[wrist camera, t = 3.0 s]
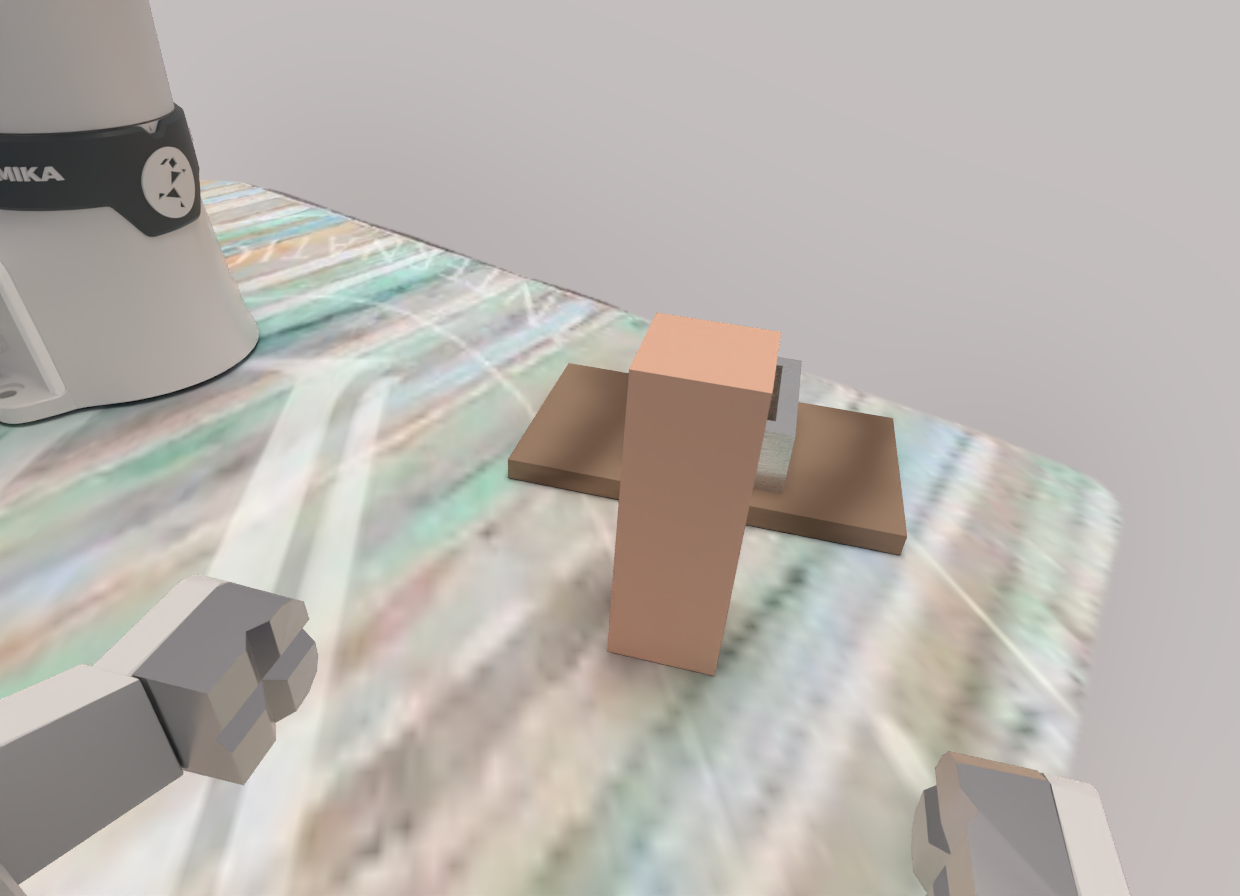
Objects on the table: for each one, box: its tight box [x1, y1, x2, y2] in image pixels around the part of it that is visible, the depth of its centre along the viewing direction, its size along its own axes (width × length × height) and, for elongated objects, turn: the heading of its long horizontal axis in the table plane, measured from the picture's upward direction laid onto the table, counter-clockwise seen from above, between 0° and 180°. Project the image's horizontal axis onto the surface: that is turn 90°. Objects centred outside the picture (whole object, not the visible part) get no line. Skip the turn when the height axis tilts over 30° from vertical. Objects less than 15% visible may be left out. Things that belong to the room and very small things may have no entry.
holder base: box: [508, 363, 907, 555], centre depth 42 cm, size 20×11×1 cm, turn 77°
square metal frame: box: [753, 357, 802, 494], centre depth 41 cm, size 8×8×4 cm
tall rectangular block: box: [607, 313, 781, 676], centre depth 28 cm, size 4×4×13 cm
